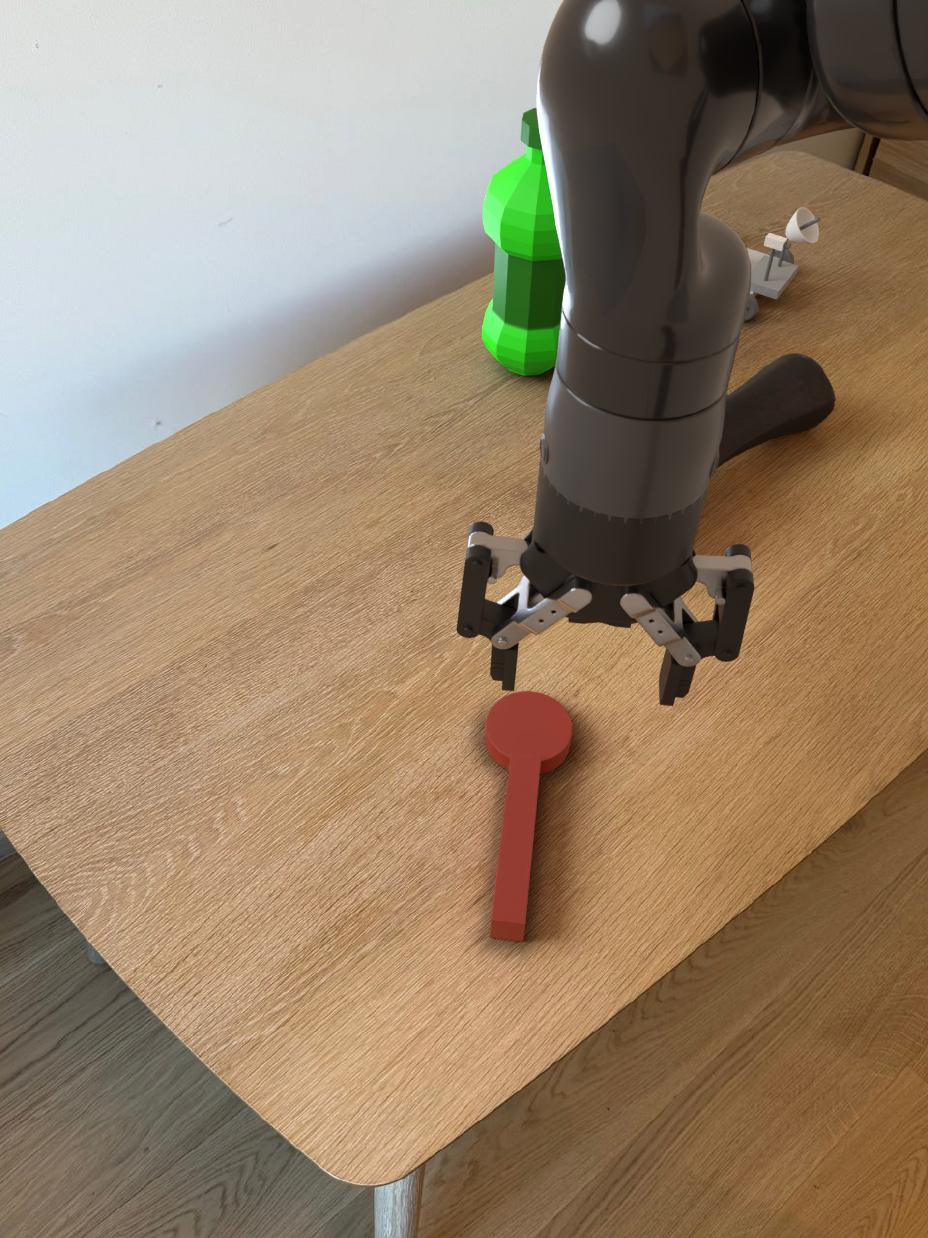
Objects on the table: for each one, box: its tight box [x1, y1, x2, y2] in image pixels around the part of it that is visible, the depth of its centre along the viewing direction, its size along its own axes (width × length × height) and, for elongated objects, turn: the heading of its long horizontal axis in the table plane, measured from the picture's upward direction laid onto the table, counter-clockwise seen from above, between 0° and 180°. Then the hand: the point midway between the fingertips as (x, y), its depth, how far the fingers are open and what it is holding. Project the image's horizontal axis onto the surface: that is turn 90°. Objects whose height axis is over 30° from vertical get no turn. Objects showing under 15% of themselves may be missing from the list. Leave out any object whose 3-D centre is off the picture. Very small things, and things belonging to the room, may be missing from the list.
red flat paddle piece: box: [484, 690, 574, 943], centre depth 77 cm, size 19×6×3 cm, turn 173°
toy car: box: [744, 206, 821, 321], centre depth 120 cm, size 18×10×12 cm
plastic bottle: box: [481, 107, 566, 377], centre depth 104 cm, size 10×10×25 cm
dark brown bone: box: [716, 352, 837, 470], centre depth 100 cm, size 11×10×28 cm
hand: (586, 686), depth 60 cm, fingers open, 8 cm apart
